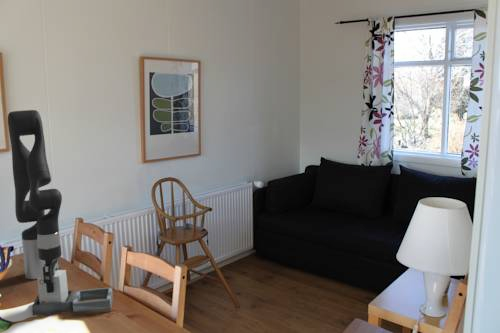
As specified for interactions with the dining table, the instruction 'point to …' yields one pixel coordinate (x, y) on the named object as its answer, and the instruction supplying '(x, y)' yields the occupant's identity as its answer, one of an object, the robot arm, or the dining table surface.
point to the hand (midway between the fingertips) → (52, 287)
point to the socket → (53, 305)
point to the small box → (59, 288)
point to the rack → (93, 301)
